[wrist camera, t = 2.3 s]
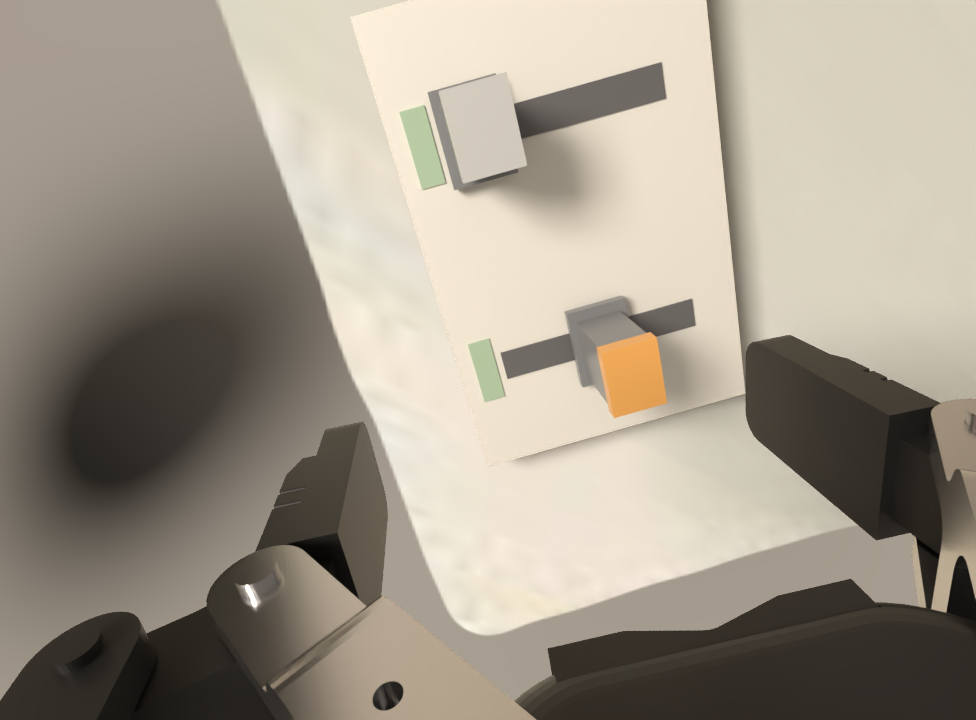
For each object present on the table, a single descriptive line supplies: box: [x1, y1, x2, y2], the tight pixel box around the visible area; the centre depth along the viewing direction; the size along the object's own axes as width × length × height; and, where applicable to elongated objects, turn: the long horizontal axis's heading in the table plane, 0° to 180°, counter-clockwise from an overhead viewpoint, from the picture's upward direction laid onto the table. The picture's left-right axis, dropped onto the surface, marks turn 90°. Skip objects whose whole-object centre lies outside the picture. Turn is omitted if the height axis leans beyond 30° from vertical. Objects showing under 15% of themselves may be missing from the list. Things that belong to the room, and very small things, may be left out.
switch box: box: [350, 0, 745, 467], centre depth 30 cm, size 24×16×3 cm, turn 15°
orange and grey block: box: [564, 296, 667, 418], centre depth 28 cm, size 4×3×6 cm
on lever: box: [428, 72, 527, 190], centre depth 24 cm, size 4×3×6 cm
